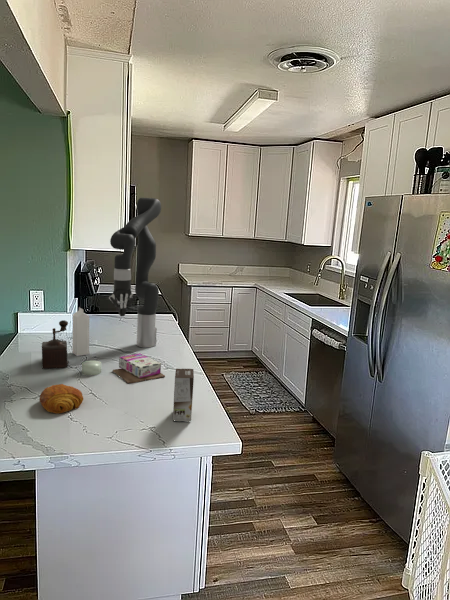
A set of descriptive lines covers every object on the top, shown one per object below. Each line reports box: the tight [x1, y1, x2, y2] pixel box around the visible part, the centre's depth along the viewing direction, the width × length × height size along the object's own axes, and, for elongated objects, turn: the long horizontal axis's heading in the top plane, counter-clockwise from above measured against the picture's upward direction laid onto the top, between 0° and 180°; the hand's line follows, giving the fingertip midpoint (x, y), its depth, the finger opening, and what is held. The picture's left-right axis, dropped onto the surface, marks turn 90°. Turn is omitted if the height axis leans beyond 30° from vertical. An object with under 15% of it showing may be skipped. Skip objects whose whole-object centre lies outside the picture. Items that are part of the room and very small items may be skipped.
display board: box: [112, 368, 166, 385], centre depth 193 cm, size 17×16×1 cm
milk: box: [72, 307, 90, 357], centre depth 212 cm, size 6×6×22 cm
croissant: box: [39, 383, 84, 415], centre depth 158 cm, size 14×16×8 cm
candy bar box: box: [118, 352, 162, 378], centre depth 195 cm, size 11×5×16 cm
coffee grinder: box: [41, 320, 69, 370], centre depth 198 cm, size 16×11×18 cm
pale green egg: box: [81, 360, 102, 377], centre depth 191 cm, size 8×8×4 cm
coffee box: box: [172, 368, 195, 422], centre depth 155 cm, size 9×6×16 cm
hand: (122, 315), depth 204 cm, fingers closed
